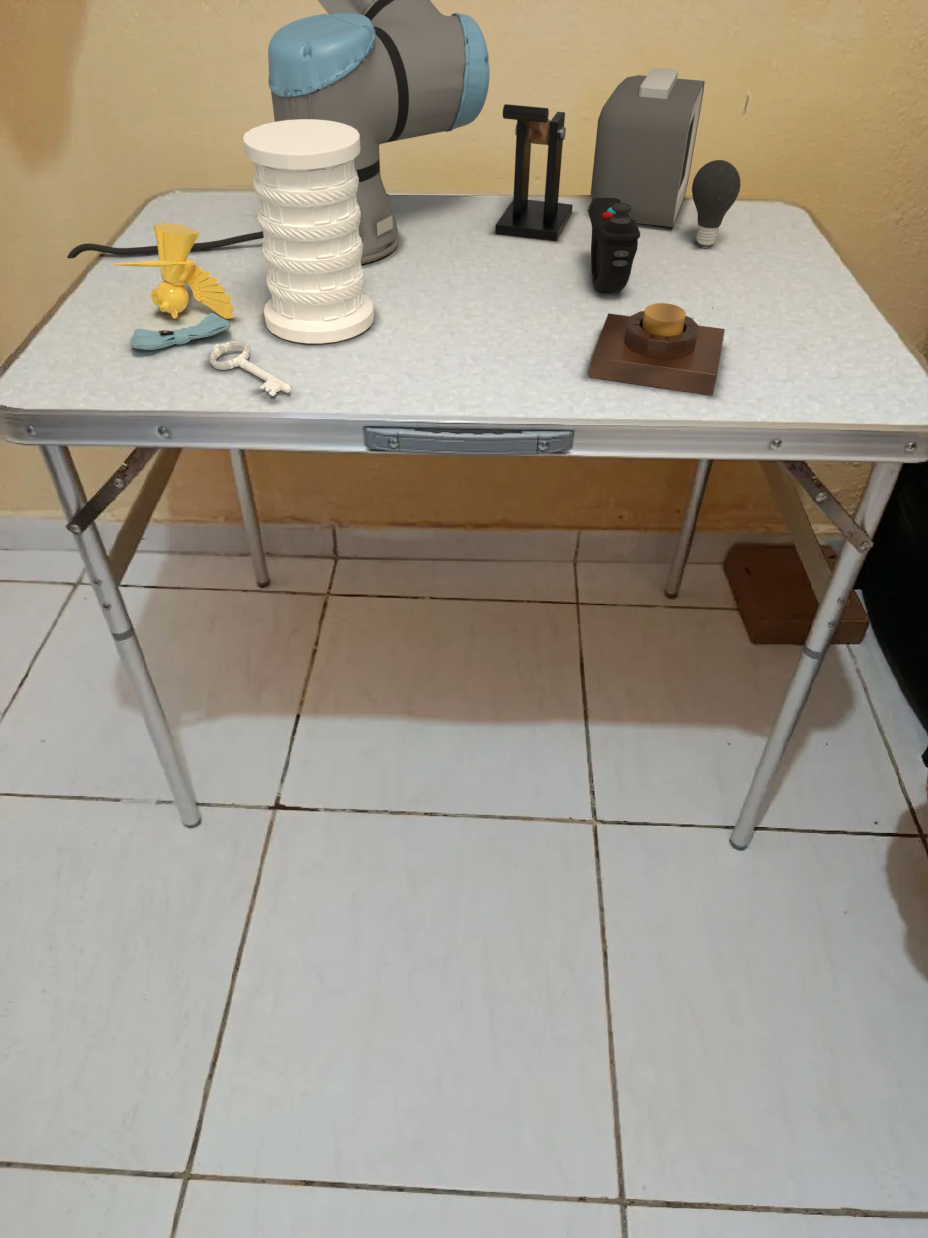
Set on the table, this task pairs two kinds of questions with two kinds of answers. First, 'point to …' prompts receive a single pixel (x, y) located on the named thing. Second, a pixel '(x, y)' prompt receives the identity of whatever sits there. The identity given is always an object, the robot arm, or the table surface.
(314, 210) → the decorative container
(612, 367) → the switch block
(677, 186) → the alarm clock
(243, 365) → the key
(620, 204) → the controller
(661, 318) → the power button
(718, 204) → the light bulb
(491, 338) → the table surface
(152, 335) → the bow tie
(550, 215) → the switch bracket
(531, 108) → the lever
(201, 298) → the figurine
